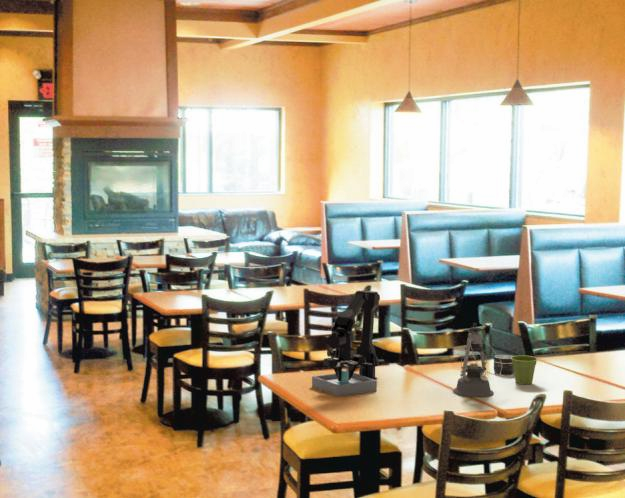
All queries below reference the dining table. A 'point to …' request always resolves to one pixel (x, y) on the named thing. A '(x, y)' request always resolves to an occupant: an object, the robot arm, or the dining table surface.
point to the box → (355, 385)
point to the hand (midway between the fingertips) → (344, 380)
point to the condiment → (354, 348)
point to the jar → (503, 364)
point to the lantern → (474, 370)
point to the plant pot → (524, 368)
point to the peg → (344, 377)
